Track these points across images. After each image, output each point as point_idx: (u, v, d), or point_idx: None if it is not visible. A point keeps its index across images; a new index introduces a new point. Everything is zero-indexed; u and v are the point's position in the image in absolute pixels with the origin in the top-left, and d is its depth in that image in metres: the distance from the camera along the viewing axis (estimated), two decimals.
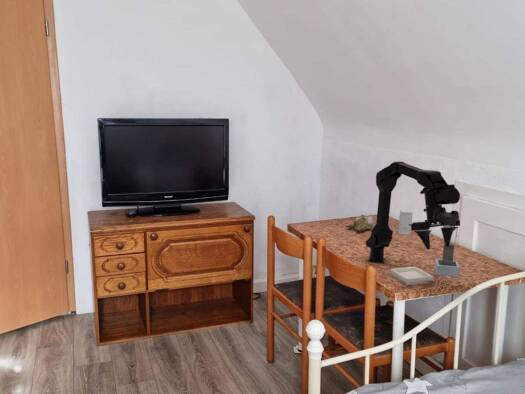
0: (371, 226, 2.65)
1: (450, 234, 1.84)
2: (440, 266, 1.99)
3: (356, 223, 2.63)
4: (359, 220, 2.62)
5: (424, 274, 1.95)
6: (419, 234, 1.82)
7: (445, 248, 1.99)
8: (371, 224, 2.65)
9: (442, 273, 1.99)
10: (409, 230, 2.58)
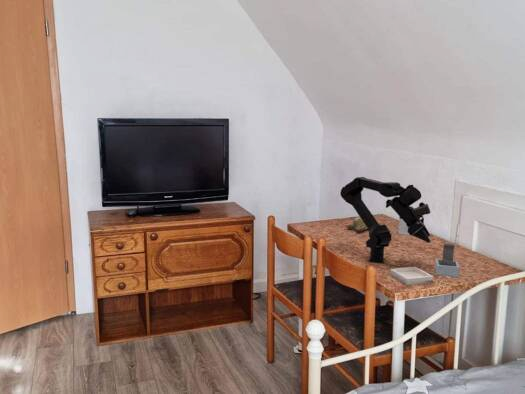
0: None
1: (424, 225, 2.07)
2: (440, 266, 1.99)
3: (356, 223, 2.63)
4: (359, 220, 2.62)
5: (424, 274, 1.95)
6: (416, 235, 1.97)
7: (445, 248, 1.99)
8: None
9: (442, 273, 1.99)
10: None
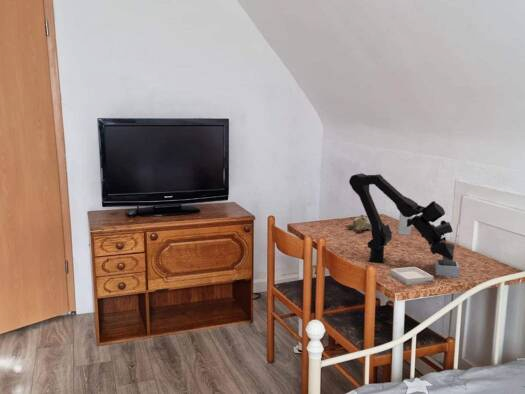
0: (370, 226, 2.65)
1: None
2: (440, 266, 1.99)
3: (355, 223, 2.63)
4: (358, 220, 2.62)
5: (424, 274, 1.95)
6: (438, 252, 1.98)
7: None
8: (370, 224, 2.64)
9: (442, 273, 1.99)
10: (409, 230, 2.58)
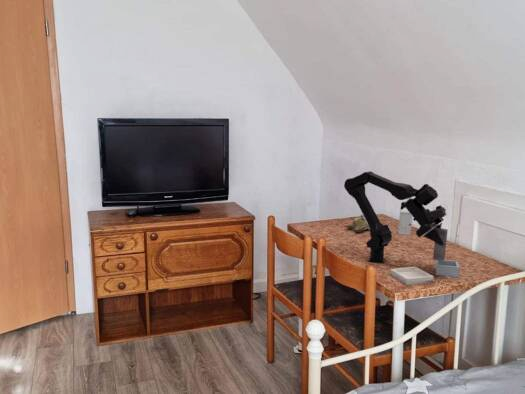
0: None
1: None
2: (440, 266, 1.99)
3: (355, 223, 2.62)
4: (358, 220, 2.62)
5: (424, 274, 1.95)
6: (428, 236, 1.95)
7: None
8: None
9: (442, 273, 1.99)
10: (409, 230, 2.58)
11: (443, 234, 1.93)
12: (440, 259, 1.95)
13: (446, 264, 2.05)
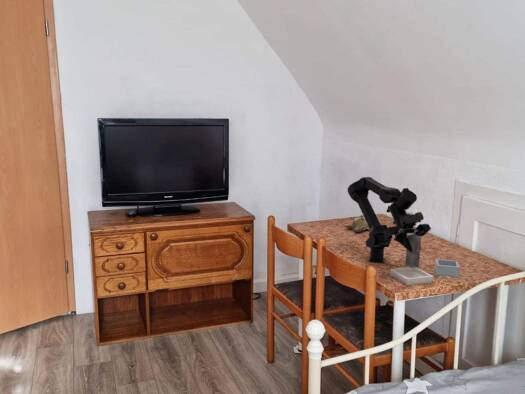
0: None
1: None
2: (440, 266, 1.99)
3: (354, 223, 2.62)
4: (357, 220, 2.62)
5: (424, 274, 1.95)
6: (399, 241, 1.94)
7: None
8: None
9: (442, 273, 1.99)
10: None
11: (412, 240, 1.90)
12: (409, 266, 1.92)
13: (446, 264, 2.05)
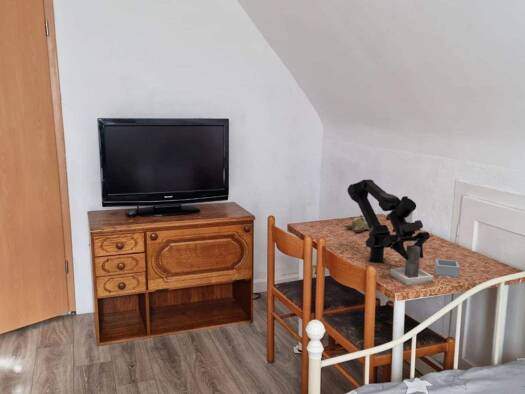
0: None
1: (420, 246, 1.94)
2: (440, 266, 1.99)
3: (354, 223, 2.62)
4: (357, 220, 2.62)
5: (424, 274, 1.95)
6: (396, 249, 1.94)
7: (407, 249, 1.93)
8: None
9: (442, 273, 1.99)
10: None
11: (411, 251, 1.91)
12: (409, 276, 1.93)
13: (446, 264, 2.05)
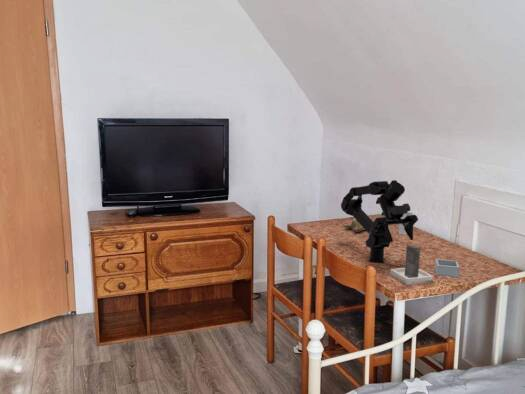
0: None
1: (411, 228, 2.01)
2: (440, 266, 1.99)
3: (354, 223, 2.62)
4: None
5: (424, 274, 1.95)
6: (381, 232, 2.00)
7: (407, 249, 1.93)
8: None
9: (442, 273, 1.99)
10: None
11: (411, 251, 1.91)
12: (409, 276, 1.93)
13: (446, 264, 2.05)
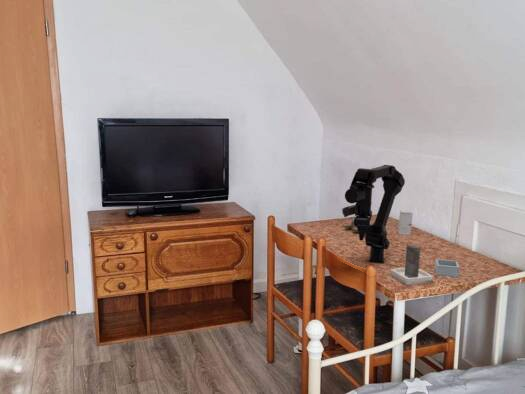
0: None
1: (358, 229, 1.98)
2: (440, 266, 1.99)
3: None
4: None
5: (424, 274, 1.95)
6: None
7: (407, 249, 1.93)
8: None
9: (442, 273, 1.99)
10: (409, 230, 2.58)
11: (411, 251, 1.91)
12: (409, 276, 1.93)
13: (446, 264, 2.05)
